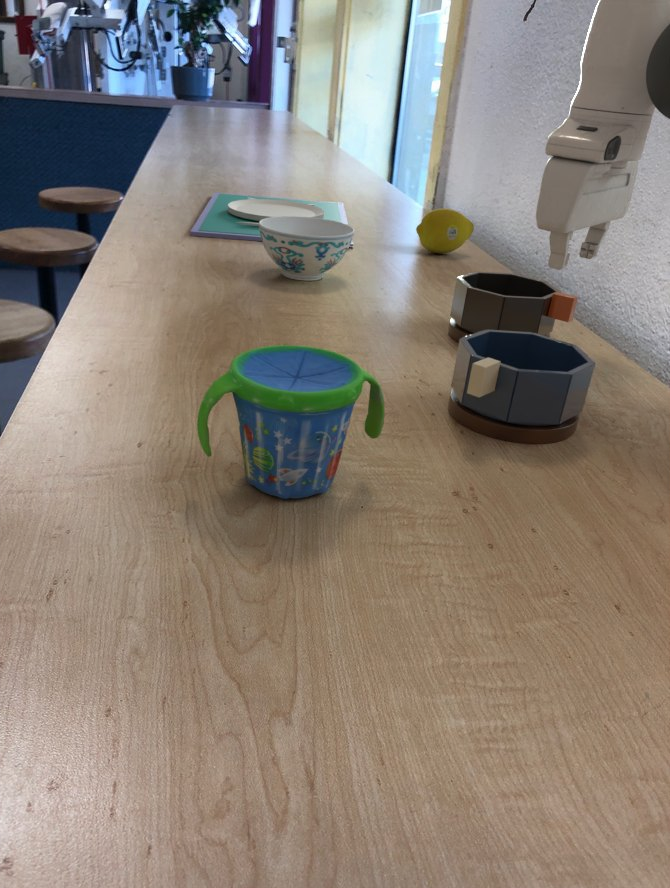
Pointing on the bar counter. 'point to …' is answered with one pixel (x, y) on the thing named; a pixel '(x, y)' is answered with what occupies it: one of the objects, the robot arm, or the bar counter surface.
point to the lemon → (444, 230)
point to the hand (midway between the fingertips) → (572, 262)
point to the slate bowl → (521, 377)
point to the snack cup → (293, 415)
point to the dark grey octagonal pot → (509, 303)
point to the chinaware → (305, 244)
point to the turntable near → (510, 426)
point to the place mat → (257, 214)
